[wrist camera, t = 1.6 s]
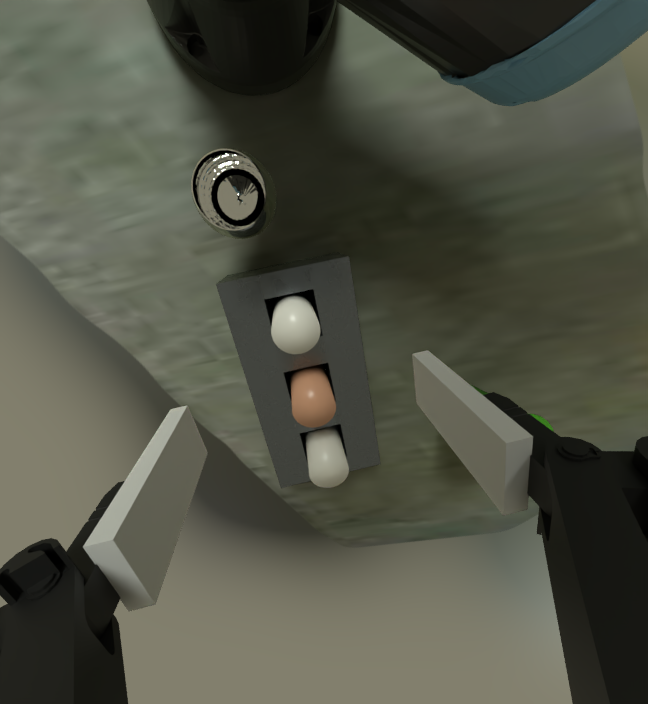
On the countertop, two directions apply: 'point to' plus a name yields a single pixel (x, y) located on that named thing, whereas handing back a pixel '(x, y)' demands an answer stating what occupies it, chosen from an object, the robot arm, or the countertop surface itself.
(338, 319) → the grey socket block
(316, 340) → the white plug
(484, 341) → the countertop surface
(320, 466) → the white plug
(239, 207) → the wineglass
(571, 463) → the robot arm
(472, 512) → the countertop surface
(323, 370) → the plug terracotta
